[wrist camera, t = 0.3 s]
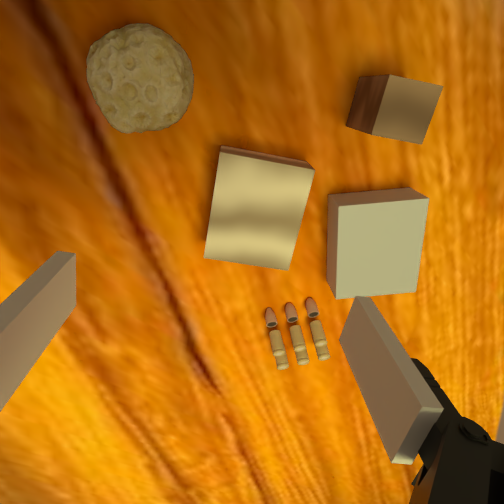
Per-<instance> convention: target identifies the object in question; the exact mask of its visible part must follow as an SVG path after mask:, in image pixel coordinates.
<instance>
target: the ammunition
mask: <svg viewBox="0 0 504 504" xmlns="http://www.w3.org/2000/svg"><path fill="white" fill-rule="evenodd" d="M306 310H307V313H308V316H309V317H316V316H318V315H319V311H318V308H317V305H316V303H315V302H314V300H313V299H312V298H307V300H306ZM285 312H286V317H287V321H288V322H295V321H297V320H298V316H297V312H296V309H295V307H294V306H293V304H291V303H287V304H286V308H285ZM265 320H266V325H267V327H274V326H276V325H277V320H276V316H275V314H274V312H273V311H272V309H271V308H267V310H266V316H265ZM310 328H311V332H312V335H313V341H314V345H315V348H316V352H317V356H318V359H319V360H327V359H329V358H330V354H329V351H328V348H327V341H326V337H325V334H324V330H323V327H322V324H321V321H319V320H315V321H312V322H311V323H310ZM289 330H290V334H291V339H292V343H293V347H294V351H295V354H296V358H297V361H298V362H297V363H298V364H299V365H305V364H308V363H309V357H308V354H307V350H306V346H305V341H304V338H303V334H302V330H301V327H300V326H299V325H294V326H291V327H290V328H289ZM269 335H270V340H271V346H272V351H273V355H274V356H275V359H276V364H277V369H279V370H283V369H286V368H288V367H289V364H288V360H287V355H286V351H285V346H284V344H283V341H282V336H281V332H280V330H273V331H271V332H270V333H269Z"/></svg>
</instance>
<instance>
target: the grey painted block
mask: <svg viewBox="0 0 504 504" xmlns="http://www.w3.org/2000/svg"><path fill="white" fill-rule="evenodd" d="M428 203H429V198H428V197H426V196H424V195H422V194H421V193H419V192H417V191H415V190H413V189H412V188H410V187H409V188H397V189H386V190H375V191H363V192H352V193H341V194H329V195H328V231H327V282H328V284H329V286H330V288H331V290H332V292H333V294H334V296H335V298H336V299H344V298H355V296H362V297H365V296H376V295H387V294H398V293H409V292H416V287H417V280H418V273H419V266H420V259H421V252H422V245H423V238H424V231H425V224H426V217H427V210H428Z"/></svg>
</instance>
